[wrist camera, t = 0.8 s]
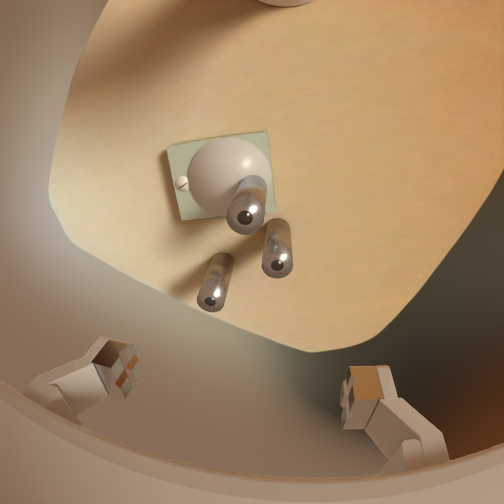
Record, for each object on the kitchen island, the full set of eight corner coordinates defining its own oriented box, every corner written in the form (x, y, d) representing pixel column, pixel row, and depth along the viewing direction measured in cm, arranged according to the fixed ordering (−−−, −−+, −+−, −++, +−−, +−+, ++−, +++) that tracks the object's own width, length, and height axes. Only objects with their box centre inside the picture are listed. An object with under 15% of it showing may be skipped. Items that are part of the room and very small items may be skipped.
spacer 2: (237, 176, 44) (223, 202, 33) (265, 173, 43) (261, 198, 33) (241, 202, 46) (229, 236, 35) (268, 200, 45) (265, 233, 35)
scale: (172, 144, 45) (164, 147, 42) (267, 130, 43) (266, 132, 40) (186, 214, 51) (180, 222, 48) (275, 205, 49) (275, 213, 46)
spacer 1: (209, 253, 55) (193, 291, 44) (232, 251, 54) (221, 290, 44) (213, 272, 57) (200, 312, 47) (235, 271, 56) (226, 312, 46)
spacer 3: (264, 219, 51) (260, 253, 40) (289, 217, 50) (292, 250, 40) (266, 241, 53) (263, 279, 42) (290, 239, 52) (293, 277, 42)
